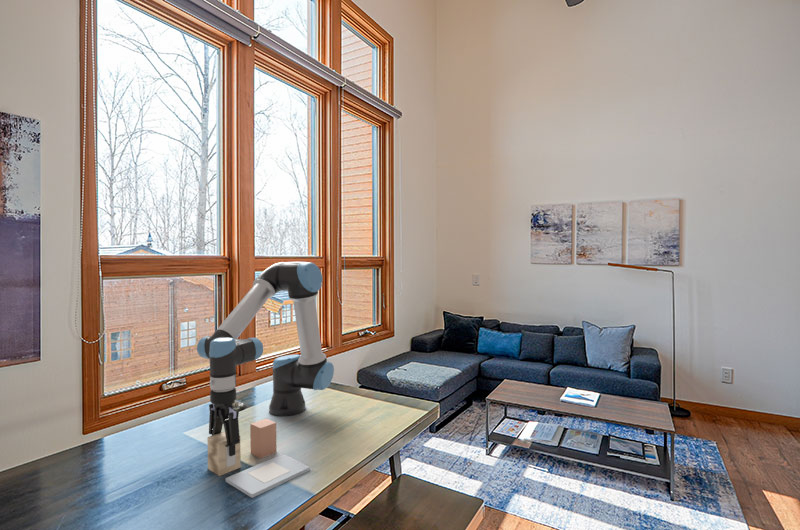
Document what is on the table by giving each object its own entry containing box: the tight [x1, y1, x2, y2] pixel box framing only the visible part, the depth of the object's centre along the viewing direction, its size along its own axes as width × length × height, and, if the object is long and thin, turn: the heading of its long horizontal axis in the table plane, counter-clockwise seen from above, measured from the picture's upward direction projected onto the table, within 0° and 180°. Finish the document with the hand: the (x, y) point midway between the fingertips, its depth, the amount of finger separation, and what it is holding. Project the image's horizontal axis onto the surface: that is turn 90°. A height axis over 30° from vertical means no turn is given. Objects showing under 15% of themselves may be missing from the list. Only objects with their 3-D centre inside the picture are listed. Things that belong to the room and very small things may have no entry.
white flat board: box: [225, 453, 311, 499], centre depth 132 cm, size 14×20×1 cm
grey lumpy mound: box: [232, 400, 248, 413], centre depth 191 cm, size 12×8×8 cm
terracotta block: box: [249, 418, 278, 459], centre depth 148 cm, size 6×6×10 cm
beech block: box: [207, 431, 242, 477], centre depth 137 cm, size 7×7×10 cm
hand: (224, 461), depth 137 cm, fingers closed on beech block, 7 cm apart
